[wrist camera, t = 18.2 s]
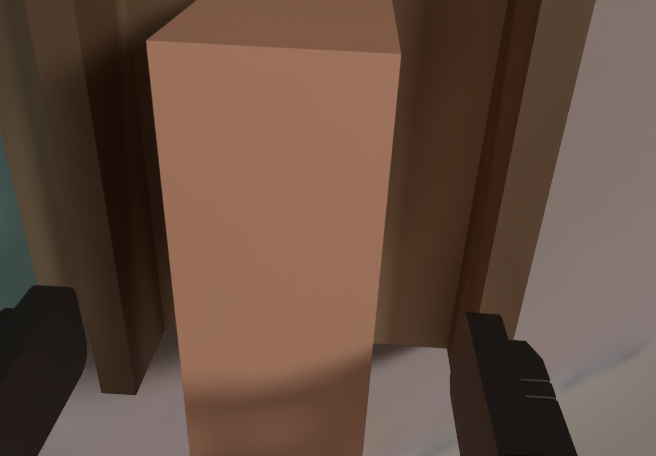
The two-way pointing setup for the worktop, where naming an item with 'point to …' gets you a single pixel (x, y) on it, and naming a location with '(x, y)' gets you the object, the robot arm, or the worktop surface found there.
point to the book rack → (404, 180)
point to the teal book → (12, 242)
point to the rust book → (275, 214)
